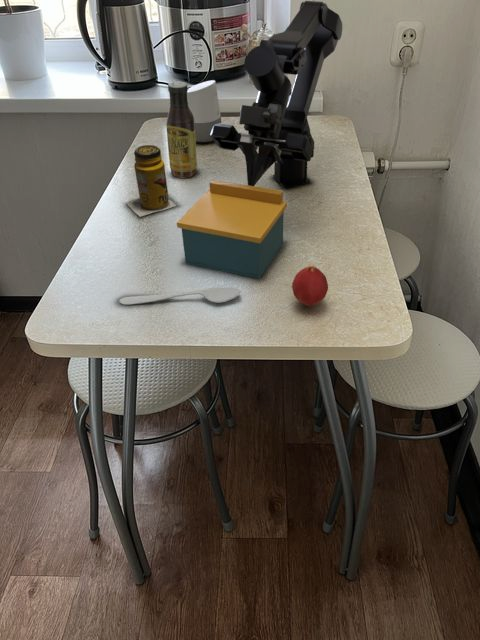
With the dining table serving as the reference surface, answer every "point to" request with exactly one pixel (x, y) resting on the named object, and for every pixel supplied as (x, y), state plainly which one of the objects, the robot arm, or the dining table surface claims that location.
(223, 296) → the spoon
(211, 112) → the smart speaker
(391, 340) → the dining table surface
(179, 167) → the sauce bottle
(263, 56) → the robot arm
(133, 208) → the condiment
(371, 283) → the dining table surface
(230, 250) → the storage bin
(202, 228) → the bin lid
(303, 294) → the onion
